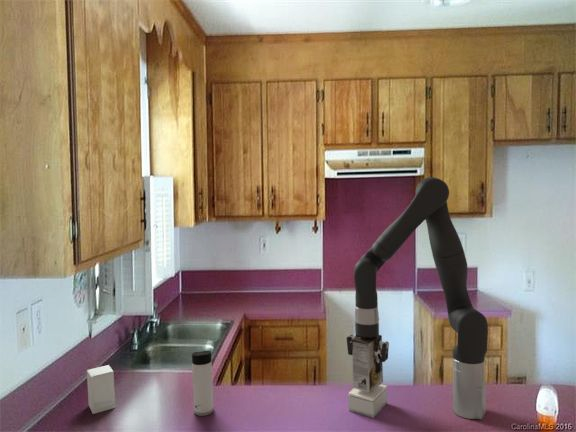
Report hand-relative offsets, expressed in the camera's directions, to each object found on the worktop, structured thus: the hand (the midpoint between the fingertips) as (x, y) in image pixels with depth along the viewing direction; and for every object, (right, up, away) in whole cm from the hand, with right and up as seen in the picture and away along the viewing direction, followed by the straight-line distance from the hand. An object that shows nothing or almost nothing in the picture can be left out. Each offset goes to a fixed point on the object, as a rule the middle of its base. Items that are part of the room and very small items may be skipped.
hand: (367, 370), depth 143 cm
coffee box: (0, -5, 0) cm, 5 cm away
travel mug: (-53, -14, +1) cm, 55 cm away
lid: (0, -7, 0) cm, 7 cm away
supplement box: (-89, -15, +6) cm, 90 cm away
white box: (0, -12, +1) cm, 12 cm away
